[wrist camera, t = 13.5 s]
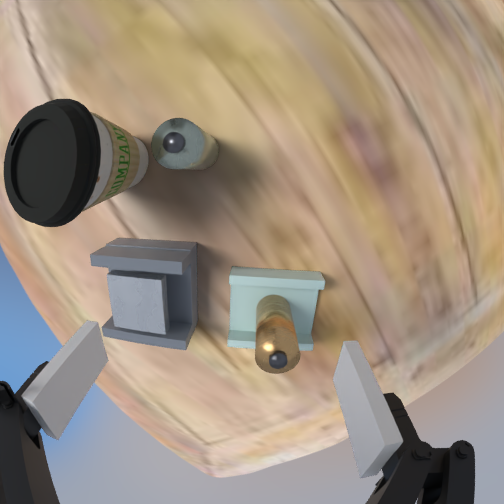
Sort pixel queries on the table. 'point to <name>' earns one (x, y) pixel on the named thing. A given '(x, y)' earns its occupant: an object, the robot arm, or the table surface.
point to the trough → (272, 283)
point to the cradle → (177, 278)
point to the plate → (139, 300)
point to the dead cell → (183, 145)
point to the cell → (275, 335)
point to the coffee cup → (68, 162)
